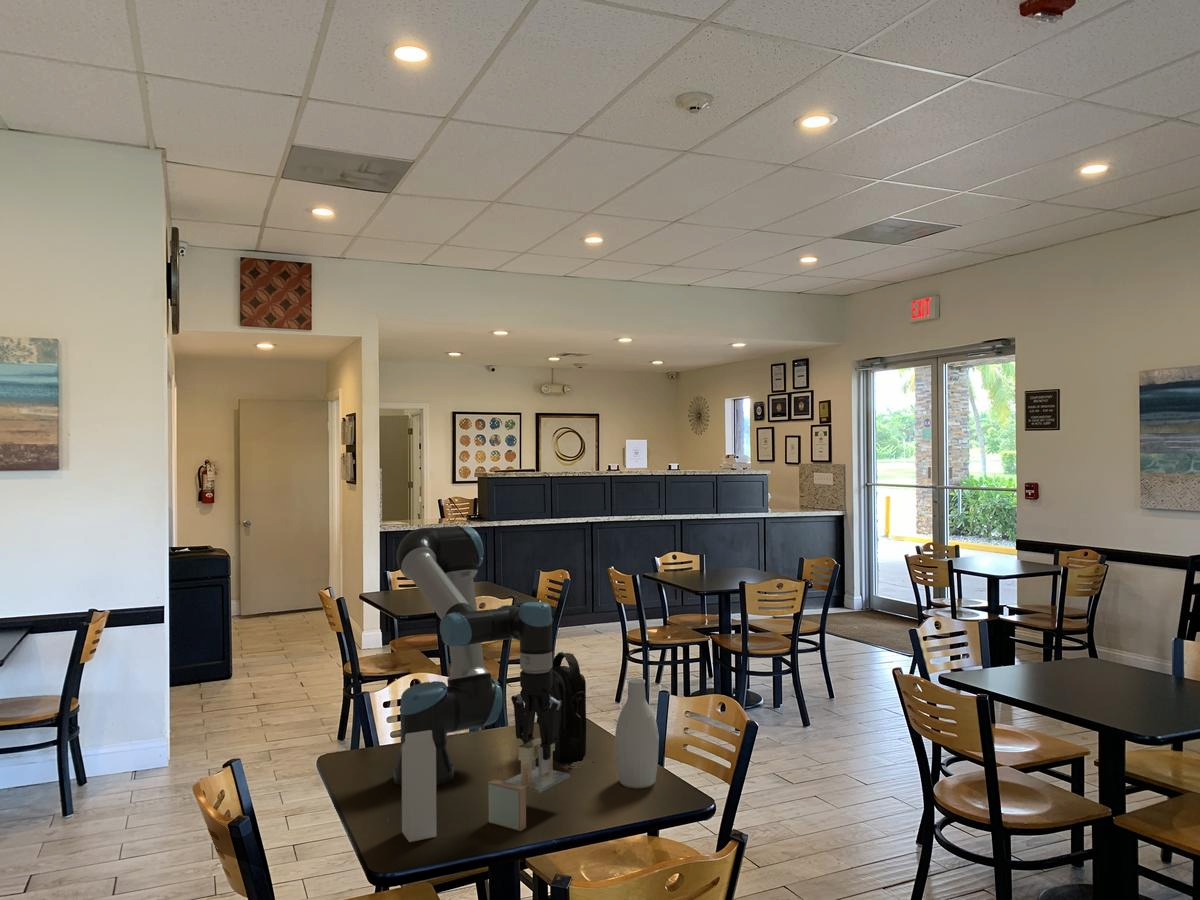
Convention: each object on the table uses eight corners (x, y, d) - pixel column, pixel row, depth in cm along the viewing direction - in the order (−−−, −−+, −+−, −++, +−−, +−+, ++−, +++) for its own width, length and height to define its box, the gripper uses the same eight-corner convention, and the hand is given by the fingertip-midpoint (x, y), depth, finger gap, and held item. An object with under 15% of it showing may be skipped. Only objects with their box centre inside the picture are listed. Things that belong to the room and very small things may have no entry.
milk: (401, 832, 190) (400, 730, 190) (429, 827, 192) (427, 726, 193) (409, 842, 184) (408, 737, 185) (437, 836, 187) (436, 733, 188)
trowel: (535, 769, 210) (535, 732, 210) (569, 777, 205) (569, 738, 205) (503, 785, 200) (503, 745, 200) (538, 793, 194) (538, 752, 195)
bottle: (662, 776, 223) (661, 676, 224) (655, 791, 212) (654, 686, 213) (620, 773, 226) (619, 674, 226) (610, 788, 215) (609, 684, 215)
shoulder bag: (596, 764, 233) (595, 659, 233) (565, 769, 229) (564, 662, 229) (564, 741, 253) (563, 644, 254) (534, 745, 249) (533, 647, 250)
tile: (487, 823, 194) (487, 782, 195) (494, 819, 196) (494, 779, 196) (519, 831, 189) (519, 789, 190) (526, 828, 191) (525, 786, 192)
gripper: (499, 669, 204) (499, 770, 204) (554, 677, 196) (555, 782, 195) (518, 663, 211) (519, 761, 210) (573, 670, 202) (574, 773, 201)
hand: (537, 771), depth 202 cm, fingers closed on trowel, 3 cm apart
